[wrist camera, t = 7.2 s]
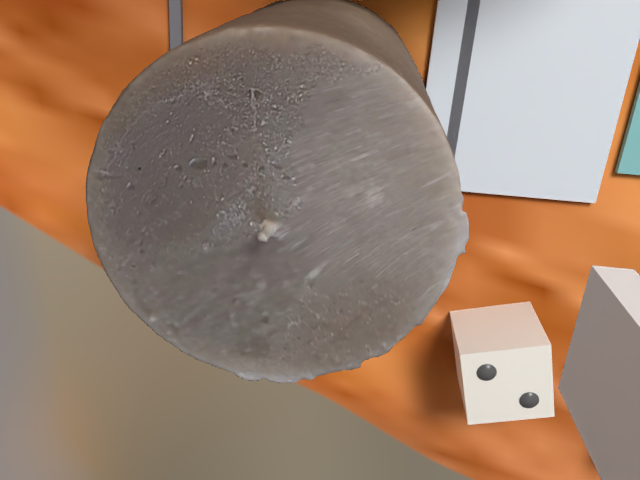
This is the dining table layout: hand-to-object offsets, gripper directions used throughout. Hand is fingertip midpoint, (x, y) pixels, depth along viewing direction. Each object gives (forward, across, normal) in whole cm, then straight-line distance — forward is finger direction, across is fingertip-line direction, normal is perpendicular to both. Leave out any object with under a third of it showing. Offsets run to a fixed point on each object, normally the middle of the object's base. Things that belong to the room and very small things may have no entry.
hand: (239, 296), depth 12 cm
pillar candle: (+18, 0, 0) cm, 18 cm away
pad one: (+17, +9, +2) cm, 20 cm away
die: (+17, +10, -11) cm, 23 cm away
